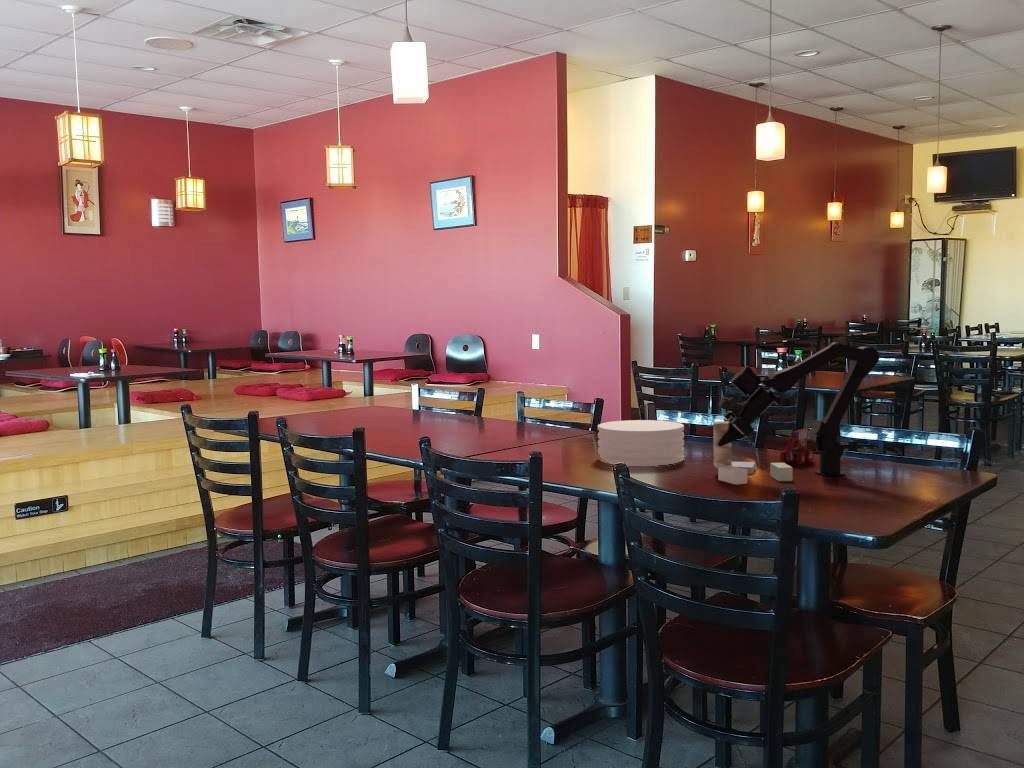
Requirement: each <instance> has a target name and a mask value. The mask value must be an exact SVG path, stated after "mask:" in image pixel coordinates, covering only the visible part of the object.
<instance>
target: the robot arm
mask: <svg viewBox="0 0 1024 768" xmlns="http://www.w3.org/2000/svg"><path fill="white" fill-rule="evenodd" d="M836 358H843V359H846V360H847V359H848V360H850V361H849V362H848V363H849V364H848V372H847V375H846V377H845V378H844V380H843V382H842V384H841V386H840V387H839V390H838V392H837V394H836V395H835V398H834V399H833V401H832V403H831V405H830V407H829V409H828V411H827V413H826V415H825V416H824V417H823V418H822V419H818V418H816V419H815V421H814V424H813V426H812V428H811V429H809V432H810V436H809V437H810V441H811V443H812V444H813V445H814V446H816V448H817V451H818V452H819V467H818V468H819V469H818V470H814V473H815V474H818V475H820V474H821V475H820V476H823V475H824V477H829V476H828V475H837V476H844V475H843V474H845V475H846V473H845V472H843V471H841V462H842V461H841V456H843V454H844V453H845V447H843V445H842V444H841V443H839V442H838V441H837V440H838V437H839V434H840V427H841V422H842V420H843V418H844V416H845V414H846V412H847V411H848V408H849V407H850V405H851V403H852V401H853V399H854V397H855V396H856V393H857V391H858V390H859V387H860V385H861V383H862V381H863V379H865V377H867V376H868V375H869V374H870V373H871V372H872V371H873V370H874V368H875V367H876V366H877V364H878V363H879V360H880V354H879V352H878V350H877V349H876V348H874V347H871V346H859V347H856V346H851V345H846V344H843V343H842V342H835V341H834V342H831V343H829V345H828V346H826V347H824V348H822V349H821V350H819V351H817V352H816V353H813V354H812V355H810V356H808V357H806V358H804V360H802V361H800V362H797V364H794V365H792V366H788V367H785V368H782V369H780V370H776V371H774V372H772V373H771V374H769V376H764V377H762V376H761V377H759V376H758V375H757V374H756V373H755V372H754V371H753V370H752V368H751V367H750V366H749V365H746V366H745V367H744V368H742V369H741V370H740V371H738V372H736V374H735V375H733V377H731V380H730V381H729V382H730V383H731V384H732V385H733V386H734V387H735V388H736V389H738V391H739V392H740V393H741V394H743V396H745V395H749V396H750V395H751V396H750V397H749V398H748V399H747V400H746V401H742V402H741V403H739V402H738V399H737V398H735V397H729V398H728V397H725V396H722V397H721V399H720V402H719V403H718V407H719V408H721V409H722V410H728V411H725V413H724V414H723V415H722V416H723V417H724V418H723V421H729V422H728V430H727V431H726V433H725V434H724V435H723V437H722V438H721V440H720V441H719V442H718V445H719V446H723V445H725V444H728V443H730V442H731V443H733V442H735V441H737V440H740V439H741V440H742V439H744V438H748V439H749V438H750V437H751V436H752V435H753V434H754V428H753V426H752V425H753V423H754V422H755V421H757V419H761V418H762V415H763V414H764V412H765V411H766V410H768V409H769V407H771V405H773V403H774V404H776V405H777V406H779V407H781V406H782V402H781V399H782V396H781V395H776V394H775V393H774V392H776V393H780V394H783V393H786V392H788V391H790V390H791V389H792V388H793V387H794V386H796V385H797V384H798V383H799V382H800V380H801V379H803V378H804V377H806V376H807V375H809V374H811V373H812V372H814V371H816V370H817V369H819V368H821V367H823V366H824V365H827V364H828V363H830V362H831V361H834V360H835V359H836ZM762 386H764V387H765V388H770V389H767V390H766V389H765V388H763V387H762Z"/></svg>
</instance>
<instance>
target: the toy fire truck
mask: <svg viewBox="0 0 1024 768" xmlns="http://www.w3.org/2000/svg"><path fill="white" fill-rule="evenodd" d="M808 433H809V432H808V429H807V428H802V429H798V430H793V431H791V432H790V437H788V440H787V445H786V449H783V450H781V452H780V454H779V455H780V456H779V460H780V463H785V464H787V463H788V462H793V463H795V462H796V464H797V465H799V464H803V465H804V464H805V463H808V462H810V463H812V461H813V458H814V453H813V450H811V449H808V448H807V447H808V445H807V444H808V435H809V434H808Z"/></svg>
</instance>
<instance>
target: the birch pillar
mask: <svg viewBox="0 0 1024 768" xmlns="http://www.w3.org/2000/svg"><path fill="white" fill-rule="evenodd" d="M728 422H729V421H724V420H723V421H713V422H712V423H713V424H712V425H713V426H712V428H713V434H712V435H713V443H712V444H713V466H714V467H715V468H716V469H718V467H720V466H732V462H733V461H732V454H733V453H732V442H730V443H728V444H725V445H723V446H719V445H718V442H719V441H720V440H721V438H722V437H723V435H724V434H725V433H726V431H727V430H728Z"/></svg>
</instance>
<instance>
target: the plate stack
mask: <svg viewBox="0 0 1024 768" xmlns="http://www.w3.org/2000/svg"><path fill="white" fill-rule="evenodd" d="M684 430H685V425H684V424H683V423H680V422H676V421H669V420H657V419H652V420H651V419H648V420H647V419H644V420H643V419H636V420H633V419H628V420H613V421H607V422H602V423H599V424H597V431H599V432H597V438H598V440H597V446H598V448H597V453H598V455H600V457H601V458H603V460H606V461H610V462H614V463H618V462H624V463H626V464H627V465H628V466H627V467H629V466H655V467H659V466H658V465H667V466H669V465H668V464H673V465H675V464H674V463H678V462H681V461H683V460H684V461H685V455H684V453H685V447H684V446H685V440H684V438H685V433H684ZM684 461H683V462H684ZM614 463H613V464H614ZM681 463H682V462H681ZM678 464H679V463H678Z"/></svg>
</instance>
